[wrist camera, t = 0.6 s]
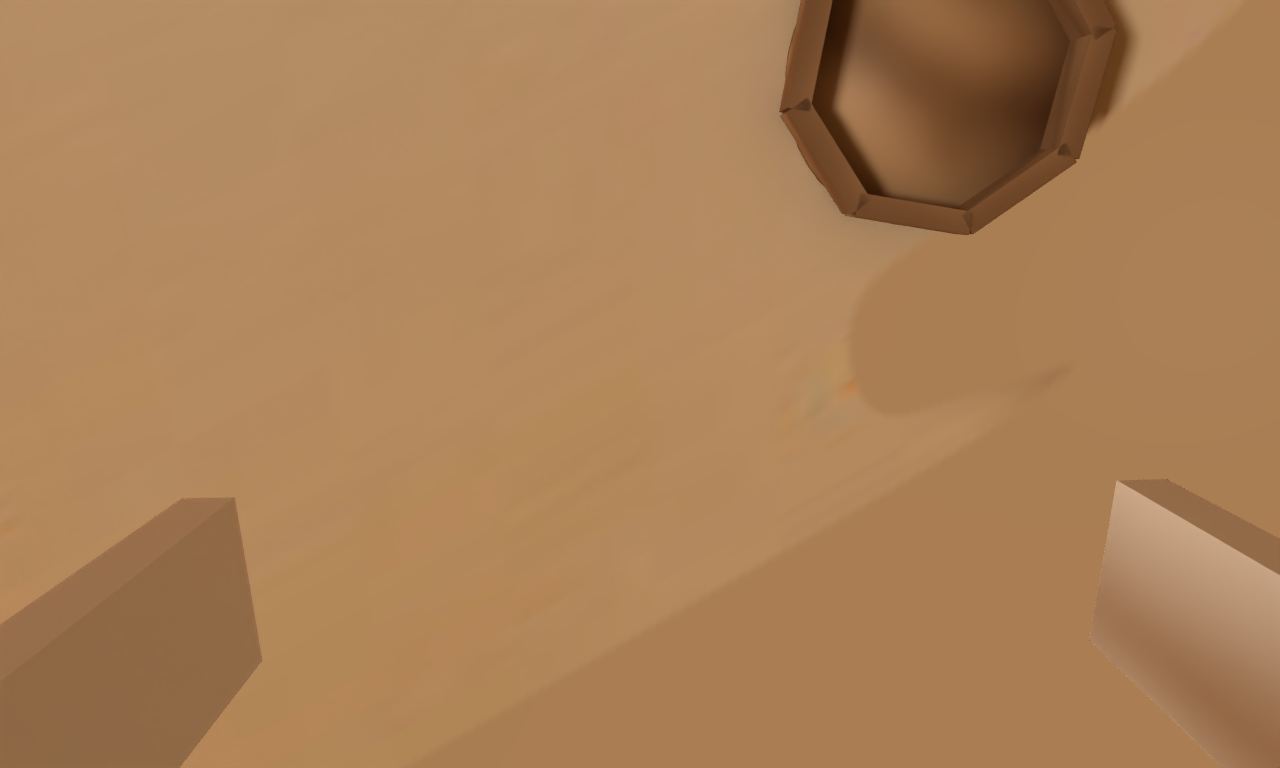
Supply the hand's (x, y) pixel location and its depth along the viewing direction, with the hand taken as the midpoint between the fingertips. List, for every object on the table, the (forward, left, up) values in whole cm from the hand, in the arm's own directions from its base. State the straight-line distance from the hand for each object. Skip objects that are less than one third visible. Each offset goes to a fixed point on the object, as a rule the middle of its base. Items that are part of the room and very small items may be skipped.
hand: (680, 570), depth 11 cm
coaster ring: (-13, +11, -24) cm, 30 cm away
